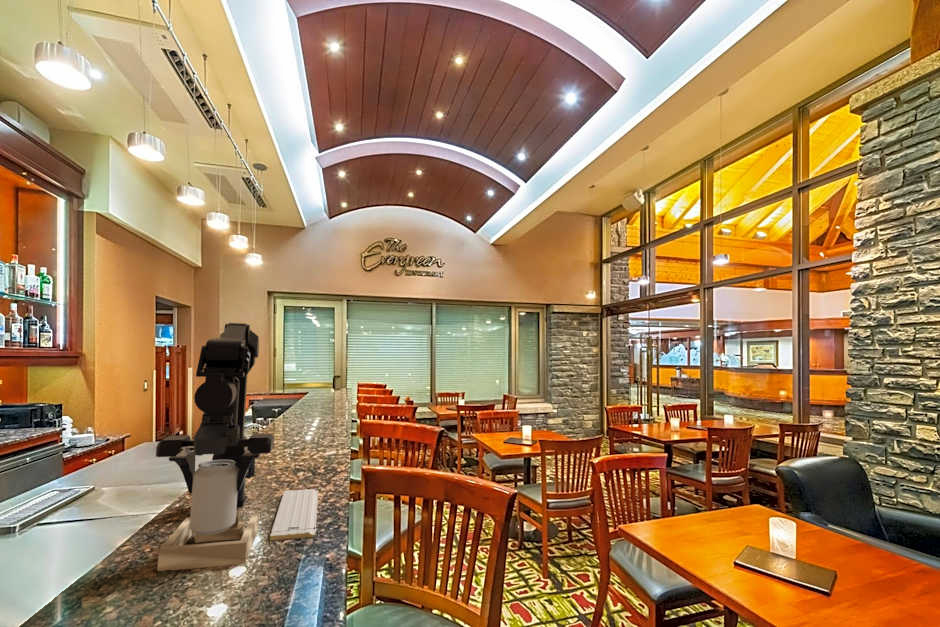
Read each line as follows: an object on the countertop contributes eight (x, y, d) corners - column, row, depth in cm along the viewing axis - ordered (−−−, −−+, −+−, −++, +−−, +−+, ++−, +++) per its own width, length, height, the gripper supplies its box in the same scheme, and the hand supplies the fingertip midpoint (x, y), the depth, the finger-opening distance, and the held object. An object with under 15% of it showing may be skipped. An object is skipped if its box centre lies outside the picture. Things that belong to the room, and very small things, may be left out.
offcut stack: (199, 535, 92) (201, 514, 92) (243, 531, 94) (244, 511, 94) (194, 543, 88) (195, 521, 88) (240, 539, 90) (241, 518, 91)
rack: (184, 536, 91) (185, 518, 91) (258, 530, 95) (259, 513, 95) (157, 571, 77) (158, 550, 77) (245, 563, 80) (246, 542, 81)
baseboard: (324, 493, 122) (283, 496, 119) (324, 482, 122) (284, 485, 119) (322, 538, 93) (269, 544, 90) (323, 524, 93) (270, 529, 90)
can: (243, 522, 88) (247, 458, 89) (219, 538, 81) (224, 468, 82) (206, 520, 89) (210, 456, 90) (179, 535, 81) (184, 466, 82)
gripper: (147, 413, 76) (139, 510, 75) (269, 411, 82) (263, 502, 80) (170, 405, 87) (163, 490, 86) (276, 404, 92) (271, 484, 91)
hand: (215, 491), depth 85 cm, fingers closed on can, 7 cm apart
